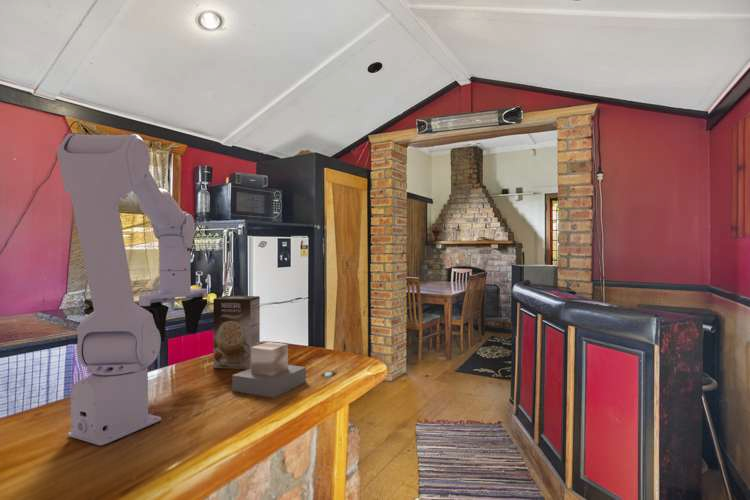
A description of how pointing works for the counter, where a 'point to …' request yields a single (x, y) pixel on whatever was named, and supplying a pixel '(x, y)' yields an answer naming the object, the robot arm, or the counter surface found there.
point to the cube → (269, 358)
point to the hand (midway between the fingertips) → (175, 337)
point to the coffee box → (235, 330)
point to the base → (269, 382)
